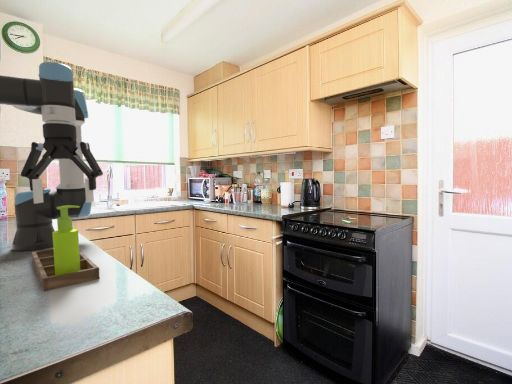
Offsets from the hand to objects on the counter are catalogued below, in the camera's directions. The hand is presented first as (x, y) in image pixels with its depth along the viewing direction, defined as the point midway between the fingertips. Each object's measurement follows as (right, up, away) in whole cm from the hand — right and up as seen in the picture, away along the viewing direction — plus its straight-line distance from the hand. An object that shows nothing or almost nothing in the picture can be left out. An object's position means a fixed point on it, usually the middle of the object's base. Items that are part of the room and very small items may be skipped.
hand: (64, 202), depth 80 cm
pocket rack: (-7, -21, +10) cm, 24 cm away
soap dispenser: (+1, -21, +1) cm, 21 cm away
